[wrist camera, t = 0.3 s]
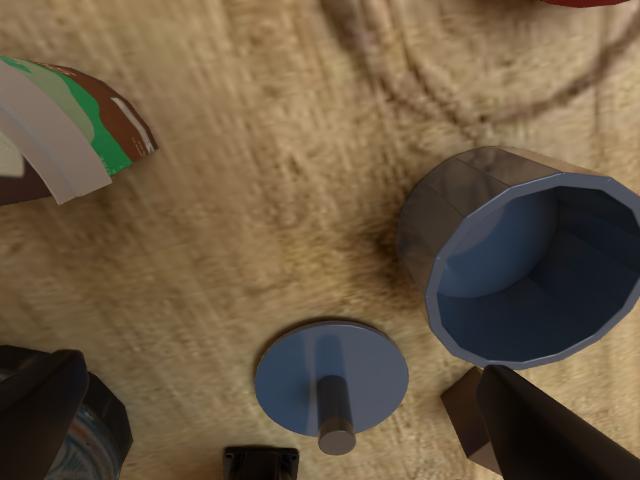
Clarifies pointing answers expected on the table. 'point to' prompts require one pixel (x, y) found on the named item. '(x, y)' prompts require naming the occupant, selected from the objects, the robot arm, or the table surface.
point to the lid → (331, 381)
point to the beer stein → (83, 427)
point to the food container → (63, 132)
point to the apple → (584, 2)
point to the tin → (519, 255)
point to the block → (470, 420)
